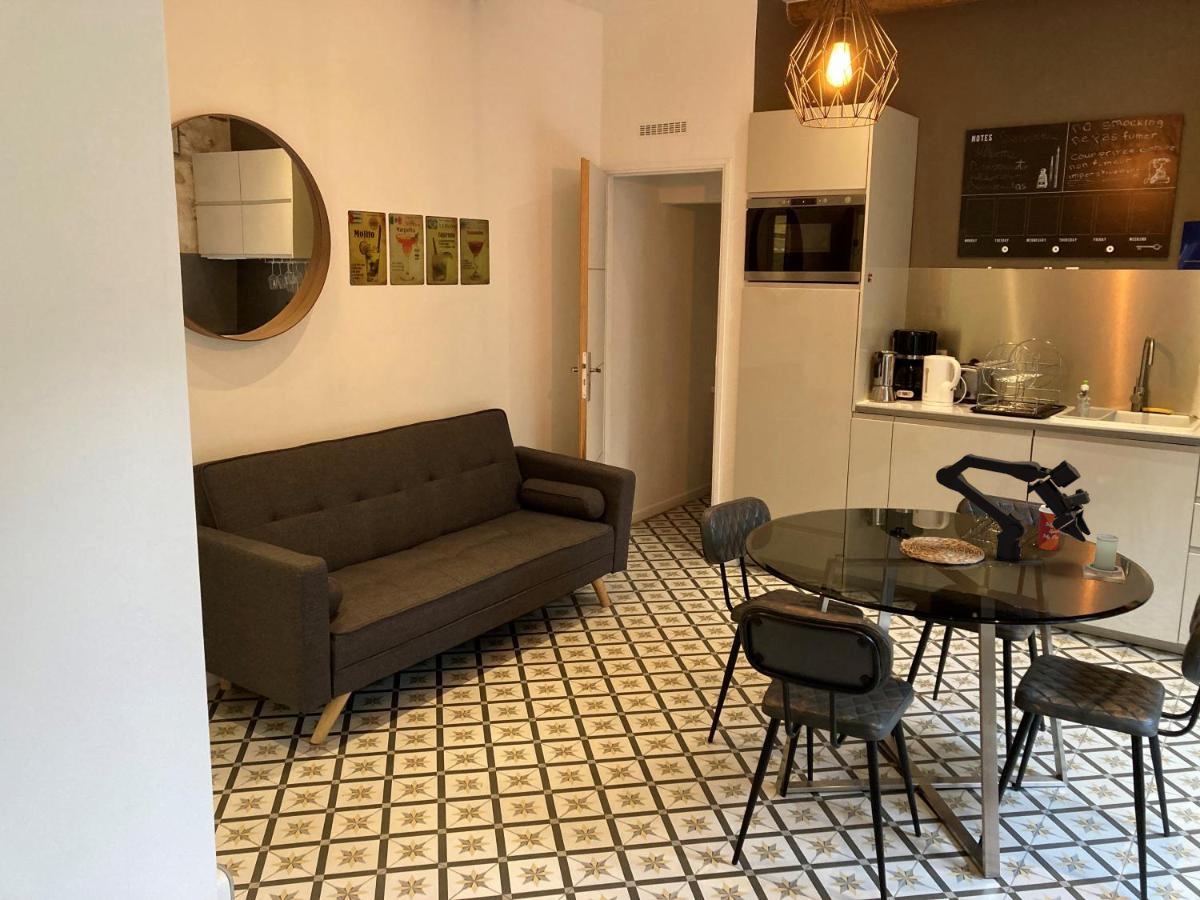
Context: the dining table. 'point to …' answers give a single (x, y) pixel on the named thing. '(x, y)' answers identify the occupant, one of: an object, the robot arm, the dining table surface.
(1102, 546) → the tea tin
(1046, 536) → the paper cup
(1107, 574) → the seat board
